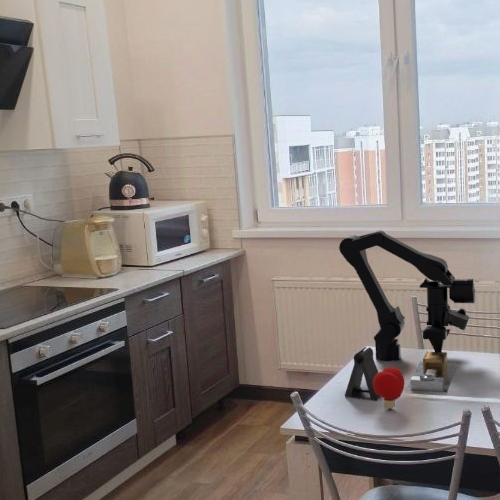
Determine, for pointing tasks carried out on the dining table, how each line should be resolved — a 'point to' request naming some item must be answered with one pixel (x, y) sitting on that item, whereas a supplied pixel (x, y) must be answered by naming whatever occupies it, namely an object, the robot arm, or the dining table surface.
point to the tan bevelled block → (435, 360)
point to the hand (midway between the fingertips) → (439, 355)
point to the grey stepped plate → (432, 378)
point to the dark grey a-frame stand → (366, 366)
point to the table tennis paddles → (389, 386)
